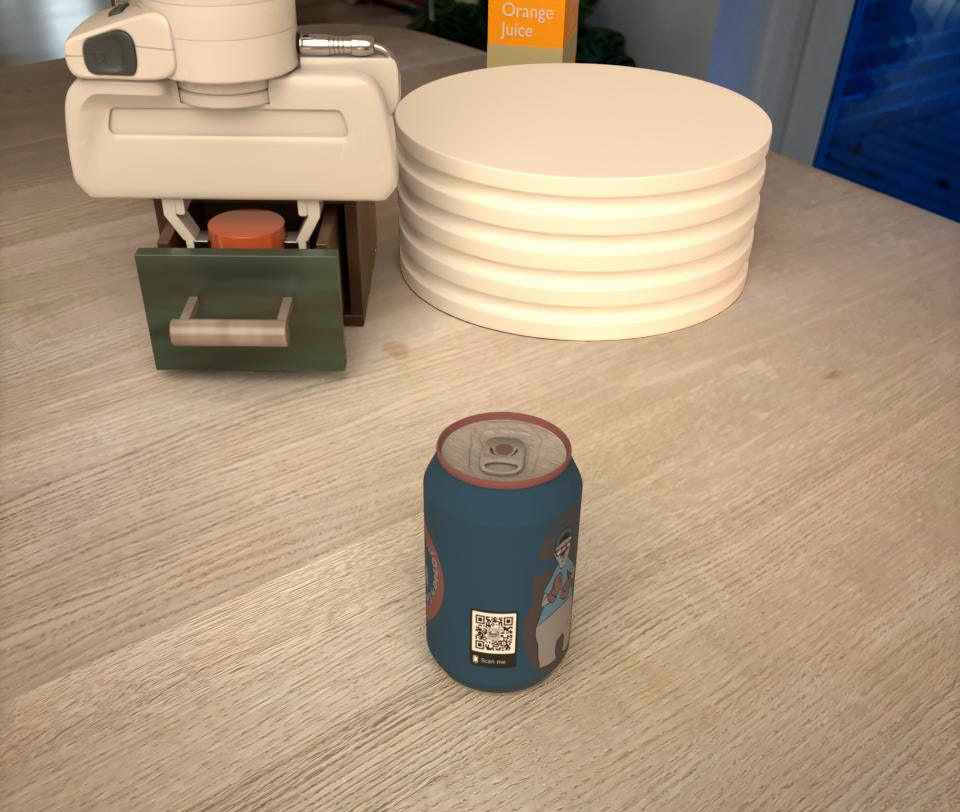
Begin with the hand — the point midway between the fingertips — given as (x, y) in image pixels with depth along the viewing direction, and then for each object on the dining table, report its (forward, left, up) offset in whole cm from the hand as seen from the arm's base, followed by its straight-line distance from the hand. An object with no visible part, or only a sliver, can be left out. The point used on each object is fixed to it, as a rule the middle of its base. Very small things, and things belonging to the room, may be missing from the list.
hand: (250, 262), depth 75 cm
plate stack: (+23, +16, -7) cm, 29 cm away
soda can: (+16, -32, -7) cm, 37 cm away
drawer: (0, 0, -5) cm, 5 cm away
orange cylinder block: (0, 0, -2) cm, 2 cm away
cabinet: (0, +12, -6) cm, 13 cm away
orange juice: (+21, +52, -7) cm, 56 cm away
